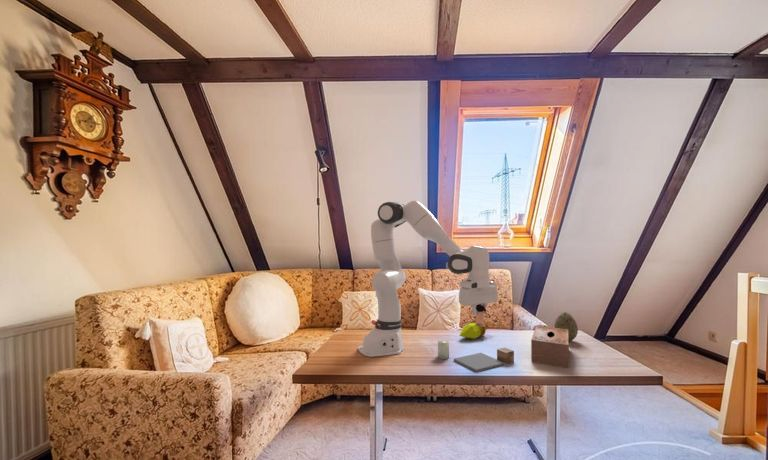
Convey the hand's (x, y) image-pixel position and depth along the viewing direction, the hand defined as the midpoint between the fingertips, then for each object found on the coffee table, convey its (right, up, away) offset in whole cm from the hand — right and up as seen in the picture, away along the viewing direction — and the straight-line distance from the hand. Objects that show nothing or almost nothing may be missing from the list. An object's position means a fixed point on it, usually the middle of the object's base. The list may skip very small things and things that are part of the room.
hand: (478, 313), depth 152 cm
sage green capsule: (-15, -21, +5) cm, 26 cm away
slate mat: (-1, -21, -2) cm, 21 cm away
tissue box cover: (+35, -22, +7) cm, 42 cm away
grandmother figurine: (0, -5, 0) cm, 5 cm away
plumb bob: (+8, -21, +35) cm, 41 cm away
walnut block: (+12, -21, 0) cm, 24 cm away
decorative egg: (+53, -21, +28) cm, 64 cm away
